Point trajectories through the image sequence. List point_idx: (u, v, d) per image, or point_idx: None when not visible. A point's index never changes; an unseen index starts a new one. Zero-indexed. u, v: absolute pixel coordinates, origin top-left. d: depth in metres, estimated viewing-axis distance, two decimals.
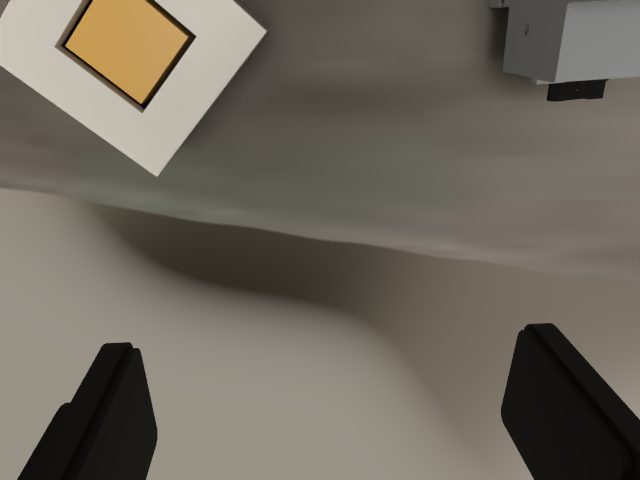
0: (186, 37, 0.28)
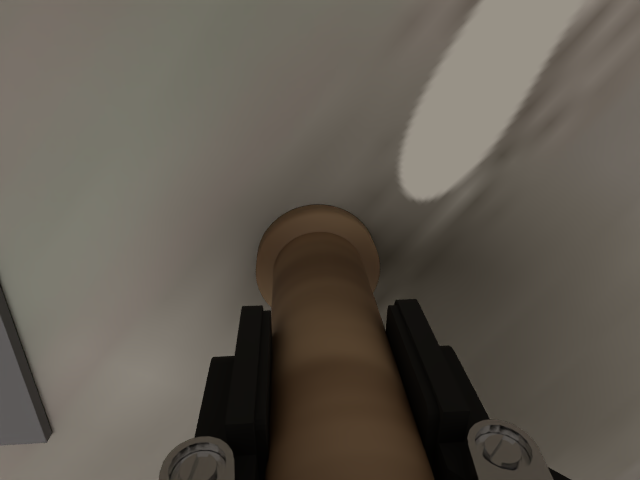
0: None
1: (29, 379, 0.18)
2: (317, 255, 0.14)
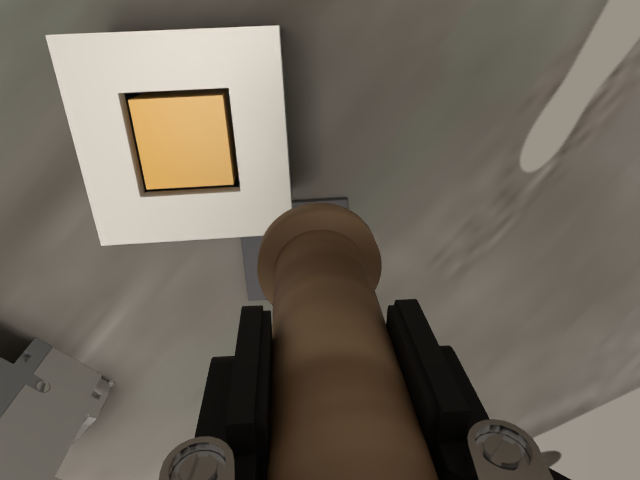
0: (147, 188, 0.27)
1: None
2: (319, 253, 0.14)
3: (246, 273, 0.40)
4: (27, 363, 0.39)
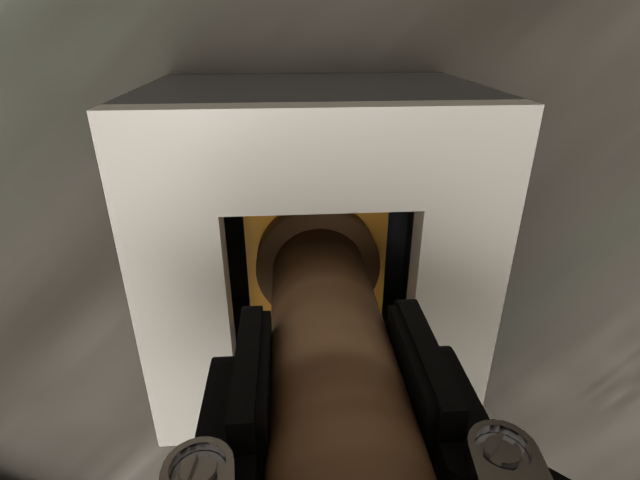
0: None
1: None
2: (317, 252, 0.14)
3: None
4: None
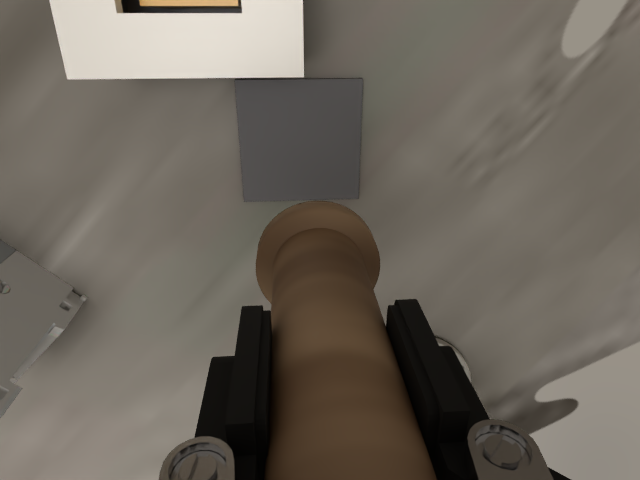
0: (141, 4, 0.24)
1: (359, 158, 0.35)
2: (317, 251, 0.14)
3: (242, 167, 0.34)
4: None
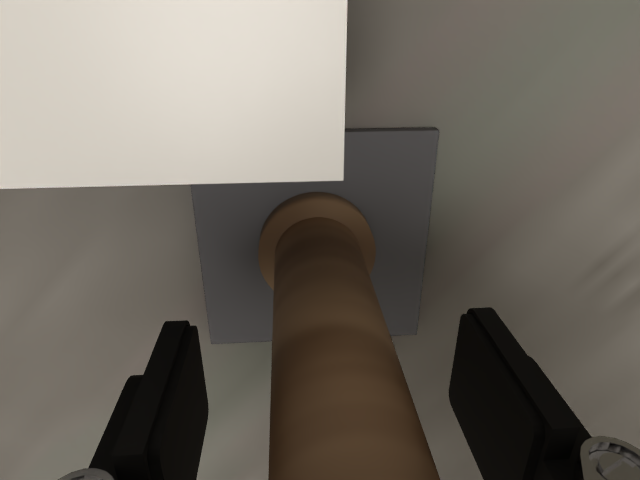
0: None
1: (421, 268, 0.19)
2: (316, 238, 0.15)
3: (206, 288, 0.18)
4: None
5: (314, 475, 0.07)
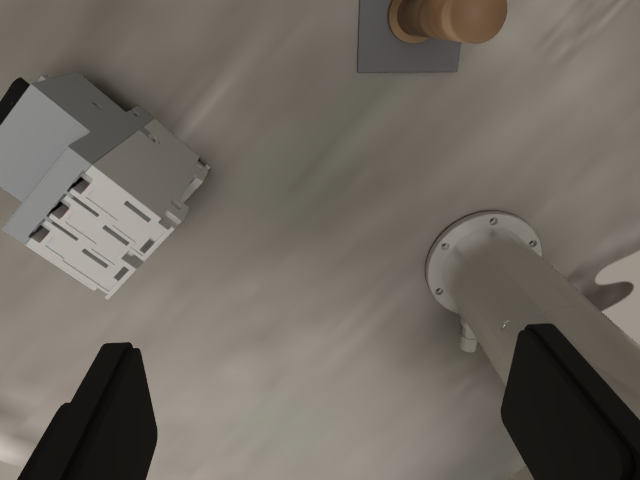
0: None
1: None
2: None
3: (360, 38, 0.39)
4: (137, 117, 0.38)
5: None
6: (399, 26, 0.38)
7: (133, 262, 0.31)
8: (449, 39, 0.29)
